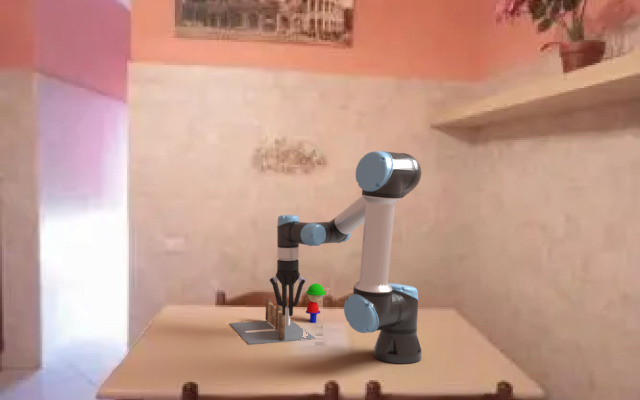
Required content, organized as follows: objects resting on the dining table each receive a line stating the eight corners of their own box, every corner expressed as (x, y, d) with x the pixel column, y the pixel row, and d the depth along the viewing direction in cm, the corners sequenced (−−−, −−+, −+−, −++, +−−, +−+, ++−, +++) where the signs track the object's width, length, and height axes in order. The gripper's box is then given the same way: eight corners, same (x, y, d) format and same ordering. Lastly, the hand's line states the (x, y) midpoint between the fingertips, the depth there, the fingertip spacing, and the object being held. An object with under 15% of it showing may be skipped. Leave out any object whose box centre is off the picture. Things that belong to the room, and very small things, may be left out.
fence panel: (276, 329, 208) (276, 307, 208) (281, 329, 208) (282, 307, 208) (279, 339, 195) (279, 316, 195) (284, 339, 196) (285, 316, 195)
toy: (325, 324, 221) (326, 285, 220) (304, 323, 221) (305, 285, 221) (325, 319, 229) (326, 282, 228) (305, 318, 229) (306, 281, 228)
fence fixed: (282, 331, 209) (283, 306, 209) (276, 331, 208) (277, 307, 208) (270, 320, 224) (270, 298, 223) (264, 321, 223) (264, 298, 222)
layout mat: (315, 338, 200) (315, 337, 200) (248, 344, 191) (248, 343, 191) (289, 319, 226) (289, 318, 226) (229, 324, 217) (229, 322, 217)
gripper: (307, 257, 204) (307, 323, 205) (272, 256, 206) (272, 321, 207) (303, 261, 197) (303, 328, 198) (267, 259, 198) (267, 326, 200)
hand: (287, 324), depth 202 cm, fingers closed
